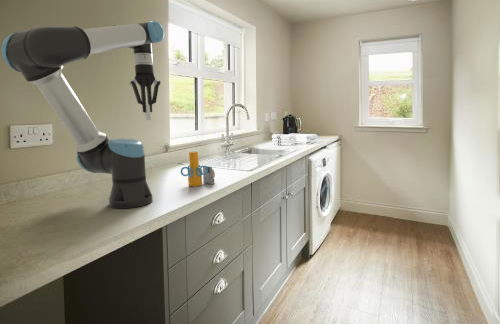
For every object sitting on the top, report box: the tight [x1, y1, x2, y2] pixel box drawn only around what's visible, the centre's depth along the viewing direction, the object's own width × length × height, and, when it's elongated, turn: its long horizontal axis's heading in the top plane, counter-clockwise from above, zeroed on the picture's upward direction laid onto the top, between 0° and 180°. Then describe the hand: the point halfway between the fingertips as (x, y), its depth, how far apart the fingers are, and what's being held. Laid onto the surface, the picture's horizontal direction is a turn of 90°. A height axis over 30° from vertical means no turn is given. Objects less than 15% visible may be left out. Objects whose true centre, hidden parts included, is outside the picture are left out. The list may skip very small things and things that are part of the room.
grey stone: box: [202, 164, 216, 186], centre depth 159 cm, size 3×8×8 cm, turn 31°
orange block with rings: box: [180, 150, 208, 187], centre depth 155 cm, size 12×10×15 cm
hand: (148, 120), depth 153 cm, fingers closed
